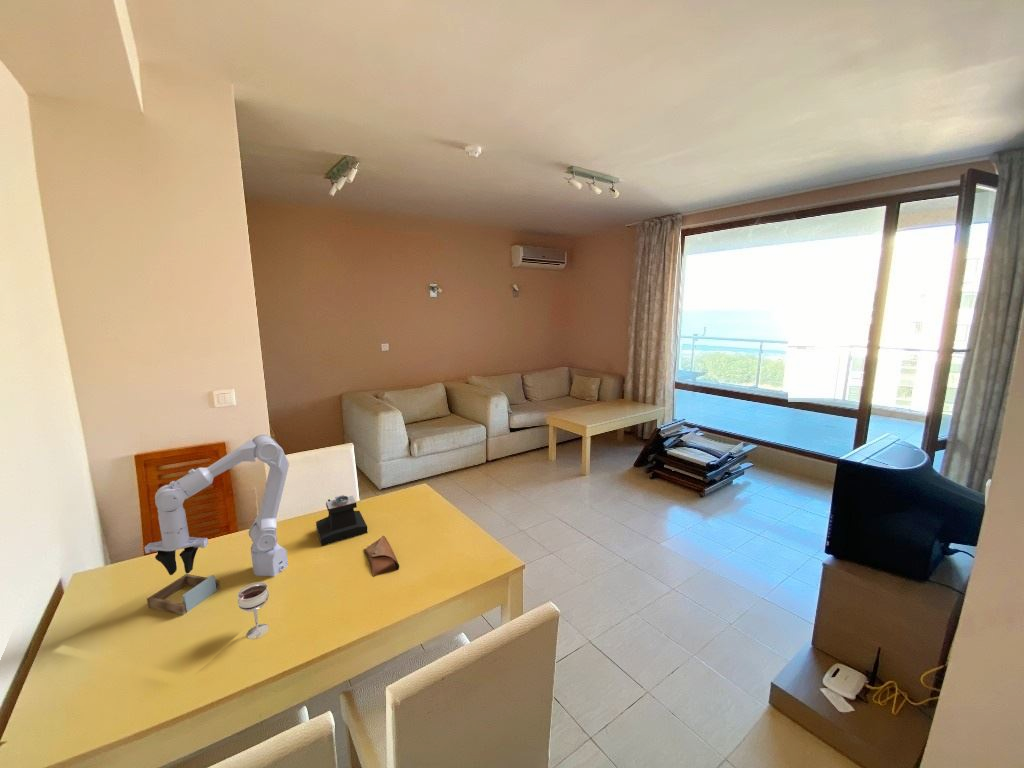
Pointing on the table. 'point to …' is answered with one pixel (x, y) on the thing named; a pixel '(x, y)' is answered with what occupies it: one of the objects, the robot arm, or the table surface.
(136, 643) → the table surface
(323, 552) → the table surface
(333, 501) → the camera
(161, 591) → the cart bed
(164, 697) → the table surface
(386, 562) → the sunglasses case
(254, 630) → the wineglass
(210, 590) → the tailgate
